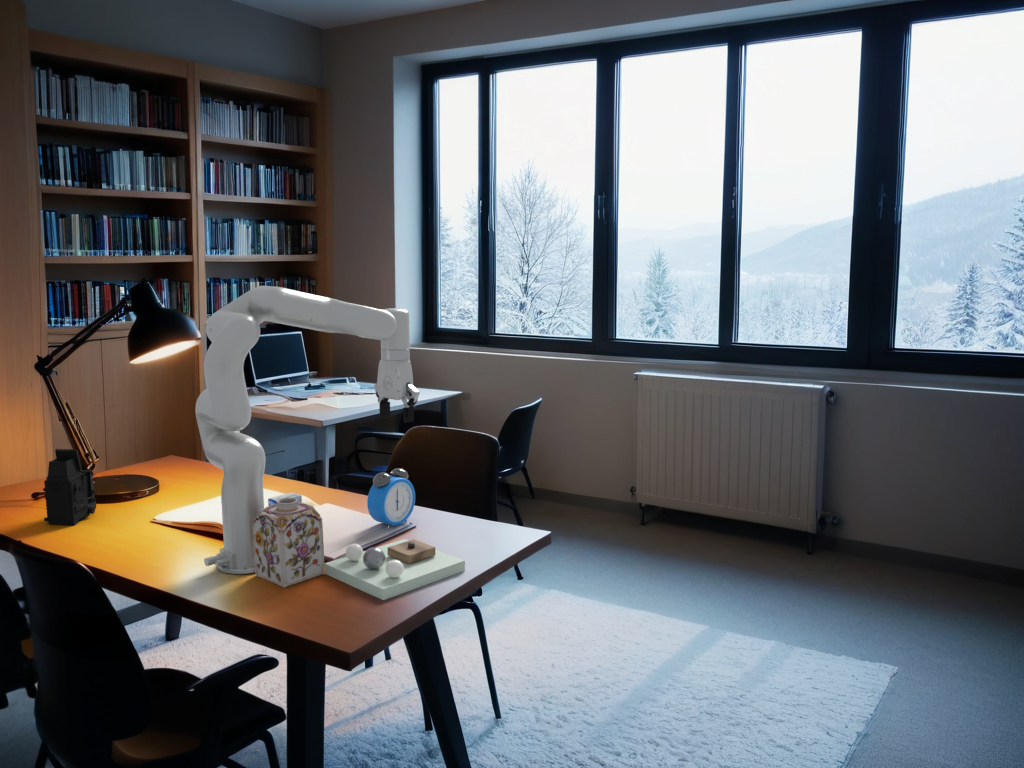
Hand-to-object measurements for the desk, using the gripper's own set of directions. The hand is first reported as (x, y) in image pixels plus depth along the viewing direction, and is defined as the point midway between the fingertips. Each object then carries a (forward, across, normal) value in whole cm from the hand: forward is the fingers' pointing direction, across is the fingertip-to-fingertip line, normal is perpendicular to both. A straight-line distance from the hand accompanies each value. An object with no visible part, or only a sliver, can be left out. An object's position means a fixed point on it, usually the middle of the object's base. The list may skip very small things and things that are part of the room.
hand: (396, 419), depth 229 cm
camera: (+30, -72, -57) cm, 96 cm away
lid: (+27, +25, -17) cm, 41 cm away
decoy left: (+25, +17, -28) cm, 41 cm away
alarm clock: (+30, -4, +1) cm, 30 cm away
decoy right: (+25, +32, -28) cm, 50 cm away
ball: (+25, +25, -28) cm, 45 cm away
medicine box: (+30, -22, -21) cm, 43 cm away
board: (+30, +25, -22) cm, 45 cm away
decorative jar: (+30, +8, -40) cm, 51 cm away
